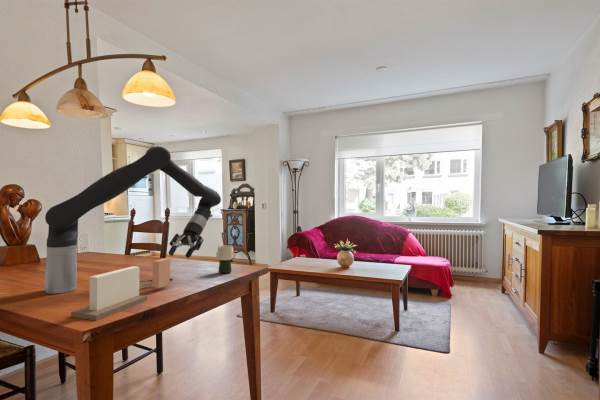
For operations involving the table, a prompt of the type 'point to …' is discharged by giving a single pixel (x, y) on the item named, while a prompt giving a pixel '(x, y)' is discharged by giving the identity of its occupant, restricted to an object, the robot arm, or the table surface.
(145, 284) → the parchment
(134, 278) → the stand
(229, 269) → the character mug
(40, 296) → the table surface
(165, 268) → the stub
